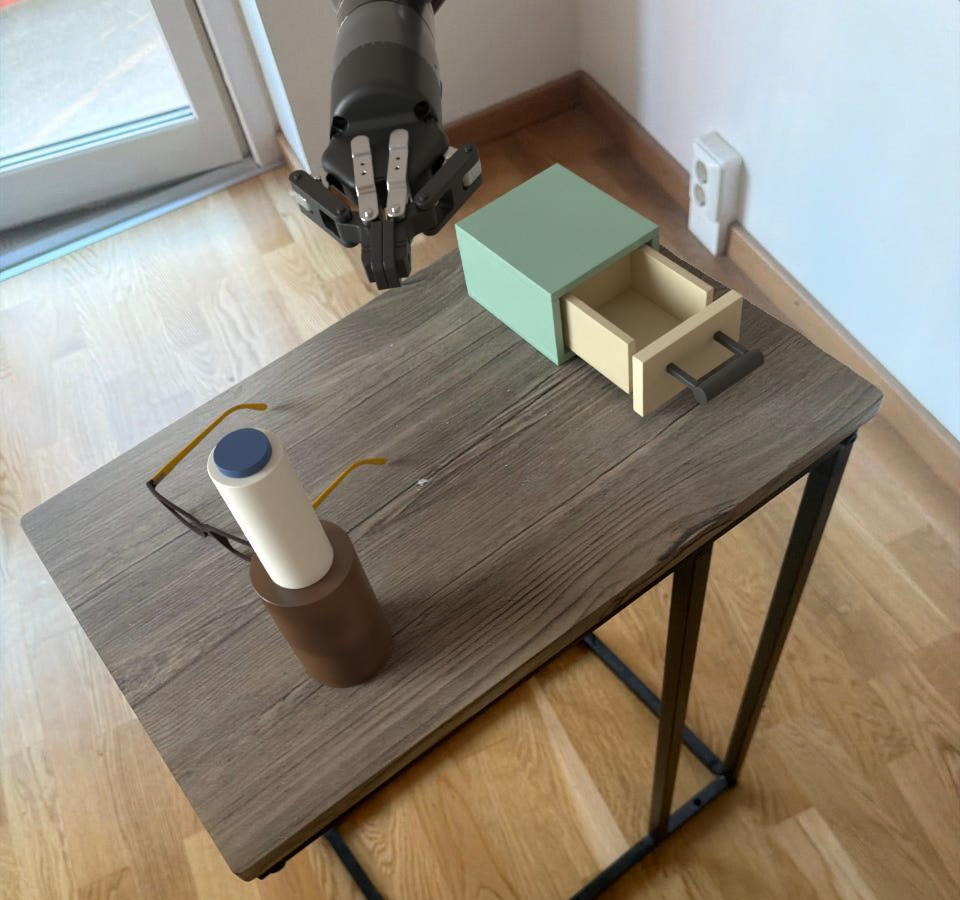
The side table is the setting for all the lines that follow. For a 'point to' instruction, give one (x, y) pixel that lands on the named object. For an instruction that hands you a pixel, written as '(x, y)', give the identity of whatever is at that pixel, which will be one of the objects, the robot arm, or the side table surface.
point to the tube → (271, 506)
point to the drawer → (656, 330)
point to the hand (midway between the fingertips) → (387, 278)
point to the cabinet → (545, 251)
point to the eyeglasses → (205, 528)
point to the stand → (330, 617)
